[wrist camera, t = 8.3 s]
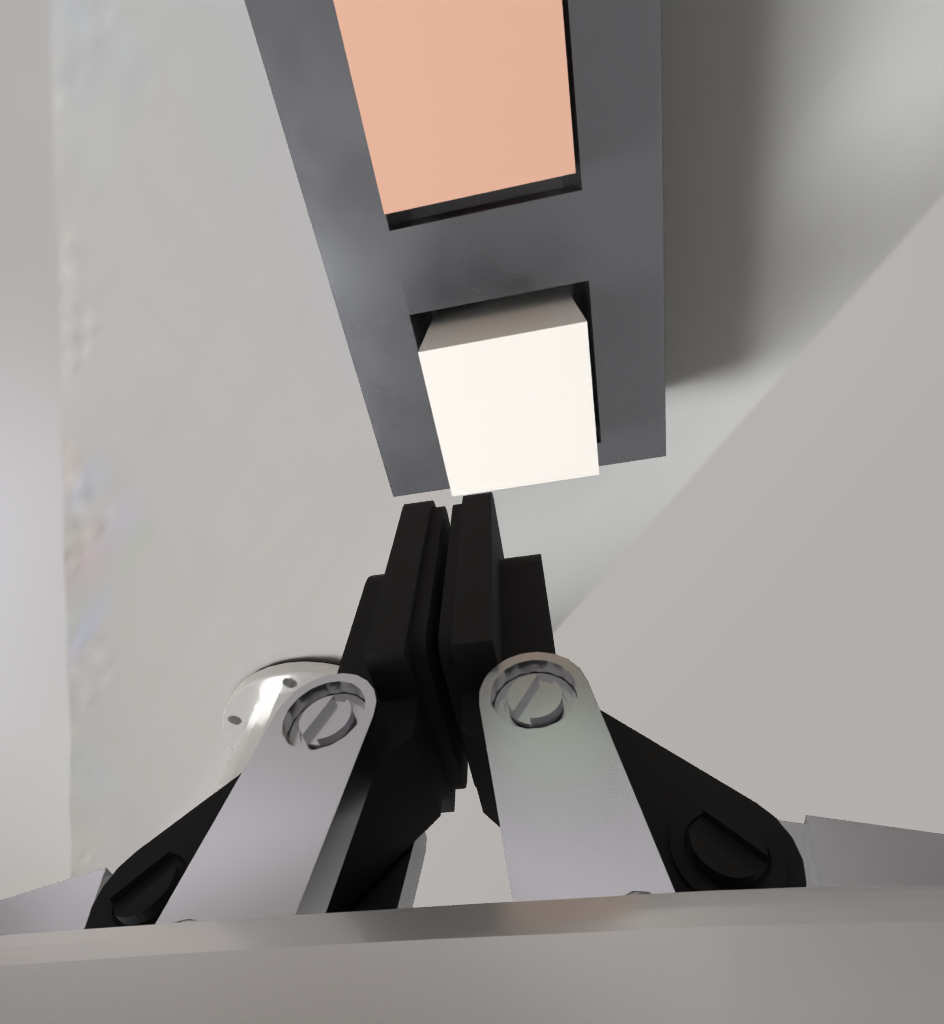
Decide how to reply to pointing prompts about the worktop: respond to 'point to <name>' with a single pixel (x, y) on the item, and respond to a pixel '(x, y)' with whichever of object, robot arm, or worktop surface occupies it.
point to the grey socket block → (489, 228)
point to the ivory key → (511, 391)
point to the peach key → (459, 94)
